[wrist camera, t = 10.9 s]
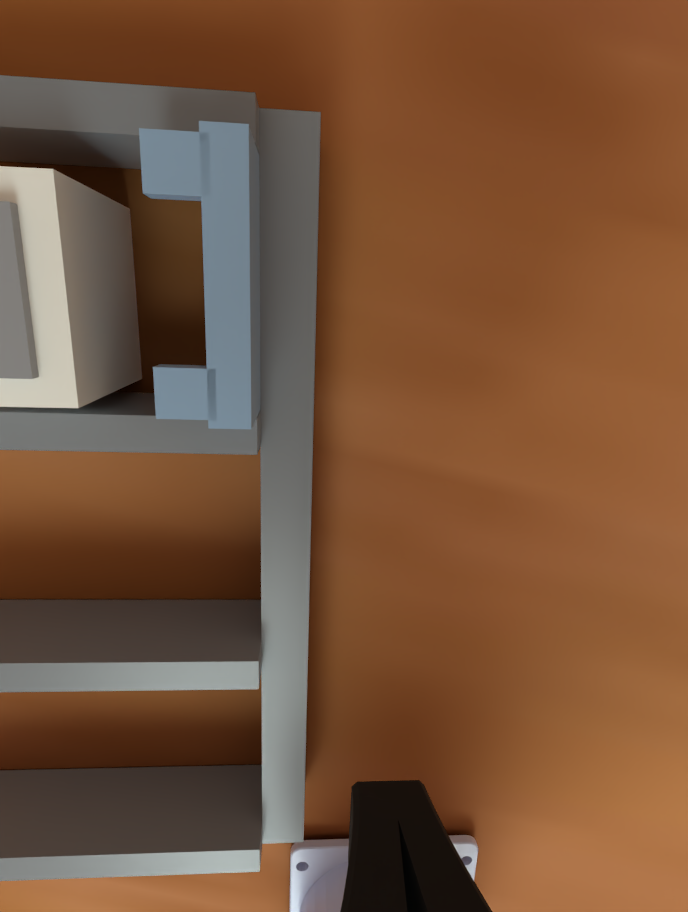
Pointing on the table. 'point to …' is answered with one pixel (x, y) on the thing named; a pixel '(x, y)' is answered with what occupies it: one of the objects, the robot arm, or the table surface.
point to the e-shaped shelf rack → (182, 431)
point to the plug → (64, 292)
